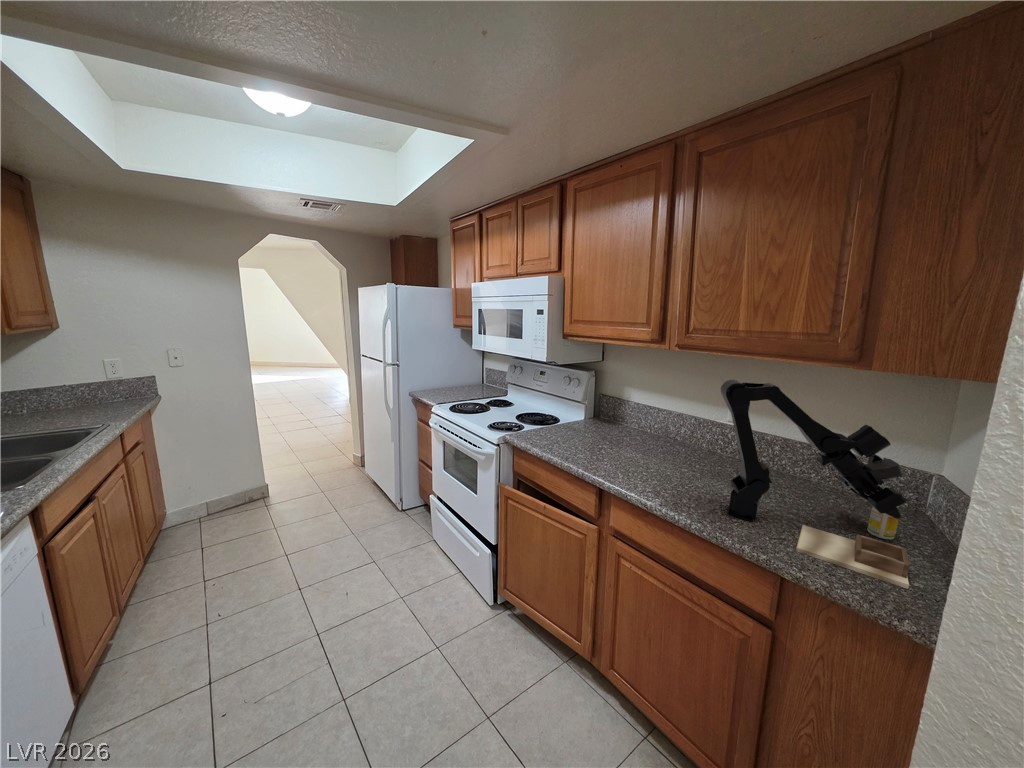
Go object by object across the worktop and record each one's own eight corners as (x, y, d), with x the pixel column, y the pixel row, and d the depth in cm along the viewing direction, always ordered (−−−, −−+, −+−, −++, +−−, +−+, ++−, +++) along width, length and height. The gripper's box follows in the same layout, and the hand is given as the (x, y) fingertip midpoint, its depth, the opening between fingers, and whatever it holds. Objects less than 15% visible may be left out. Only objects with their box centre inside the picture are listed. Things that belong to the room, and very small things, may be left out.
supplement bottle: (866, 534, 104) (873, 500, 102) (867, 526, 108) (874, 494, 106) (894, 542, 100) (902, 508, 98) (894, 534, 104) (901, 501, 102)
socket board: (796, 551, 96) (798, 536, 95) (802, 528, 106) (804, 514, 105) (908, 589, 83) (912, 572, 82) (902, 558, 94) (905, 543, 93)
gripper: (904, 462, 92) (952, 513, 91) (859, 438, 109) (899, 480, 109) (857, 488, 95) (903, 537, 95) (821, 461, 113) (860, 502, 112)
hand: (892, 512), depth 102 cm, fingers closed on supplement bottle, 5 cm apart
